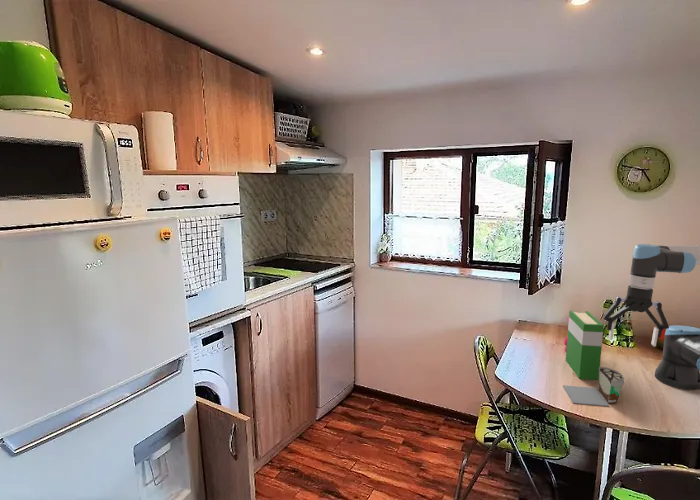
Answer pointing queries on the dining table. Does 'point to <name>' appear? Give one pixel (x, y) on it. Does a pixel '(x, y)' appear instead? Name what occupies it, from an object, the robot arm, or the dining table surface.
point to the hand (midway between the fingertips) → (631, 341)
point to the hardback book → (584, 345)
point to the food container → (610, 384)
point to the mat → (585, 395)
